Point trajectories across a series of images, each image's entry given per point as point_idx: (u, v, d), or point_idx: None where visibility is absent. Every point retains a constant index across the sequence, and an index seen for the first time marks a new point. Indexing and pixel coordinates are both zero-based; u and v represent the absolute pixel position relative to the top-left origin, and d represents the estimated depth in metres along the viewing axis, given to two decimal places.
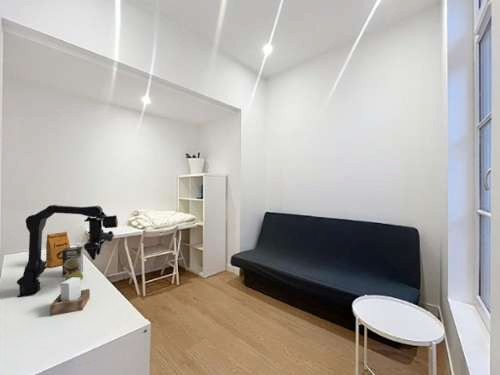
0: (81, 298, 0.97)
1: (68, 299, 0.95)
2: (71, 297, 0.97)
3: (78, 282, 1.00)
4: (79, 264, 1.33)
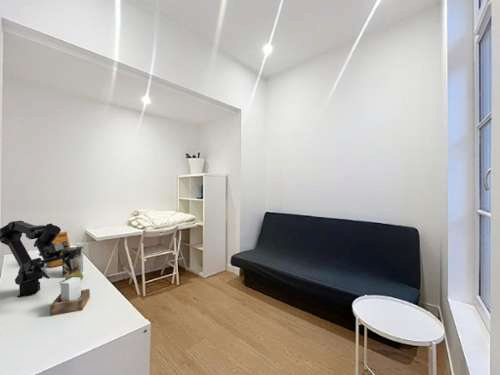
0: (81, 298, 0.97)
1: (68, 299, 0.95)
2: (72, 297, 0.97)
3: (78, 282, 1.00)
4: (79, 264, 1.33)
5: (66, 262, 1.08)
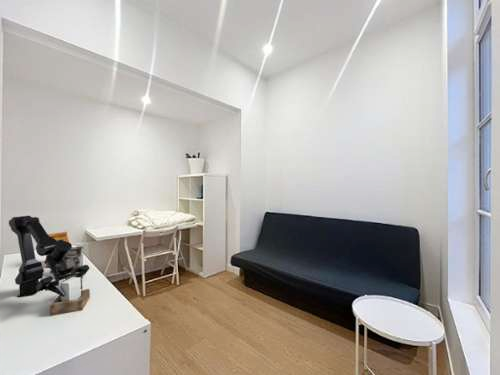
0: (81, 298, 0.97)
1: (68, 299, 0.95)
2: (72, 297, 0.97)
3: (78, 282, 1.00)
4: (79, 264, 1.33)
5: None
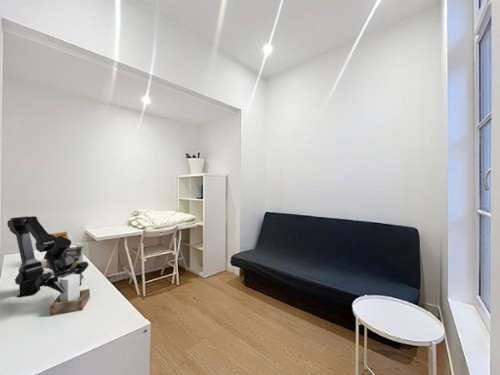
0: (81, 298, 0.97)
1: (66, 295, 0.96)
2: (70, 293, 0.97)
3: (77, 278, 1.00)
4: None
5: None
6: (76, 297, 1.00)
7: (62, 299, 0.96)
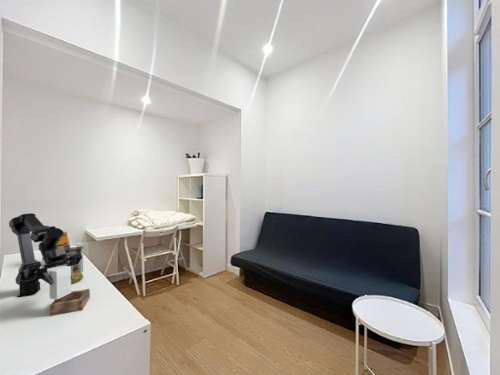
0: (81, 298, 0.97)
1: (55, 288, 0.92)
2: (60, 286, 0.93)
3: (68, 271, 0.96)
4: (79, 264, 1.33)
5: None
6: (67, 290, 0.96)
7: (51, 291, 0.92)
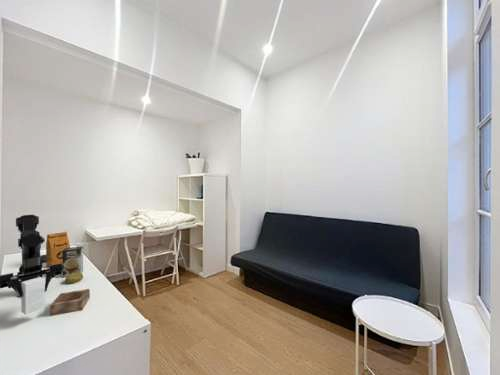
0: (81, 298, 0.97)
1: (24, 302, 0.85)
2: (29, 300, 0.86)
3: (41, 283, 0.89)
4: (79, 264, 1.33)
5: None
6: (39, 304, 0.88)
7: (22, 305, 0.86)
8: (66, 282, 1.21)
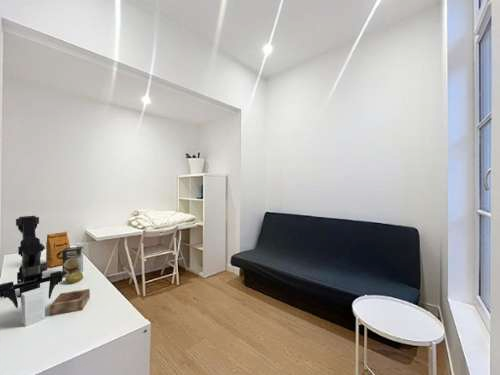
0: (81, 298, 0.97)
1: (24, 313, 0.85)
2: (29, 311, 0.86)
3: (41, 294, 0.89)
4: (79, 264, 1.33)
5: (49, 286, 0.94)
6: (39, 315, 0.88)
7: (22, 316, 0.86)
8: (66, 282, 1.21)
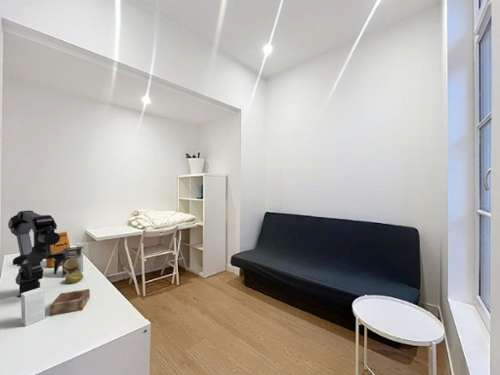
0: (81, 298, 0.97)
1: (24, 313, 0.85)
2: (29, 311, 0.86)
3: (41, 294, 0.89)
4: (79, 264, 1.33)
5: None
6: (39, 315, 0.88)
7: (22, 316, 0.86)
8: (66, 282, 1.21)
